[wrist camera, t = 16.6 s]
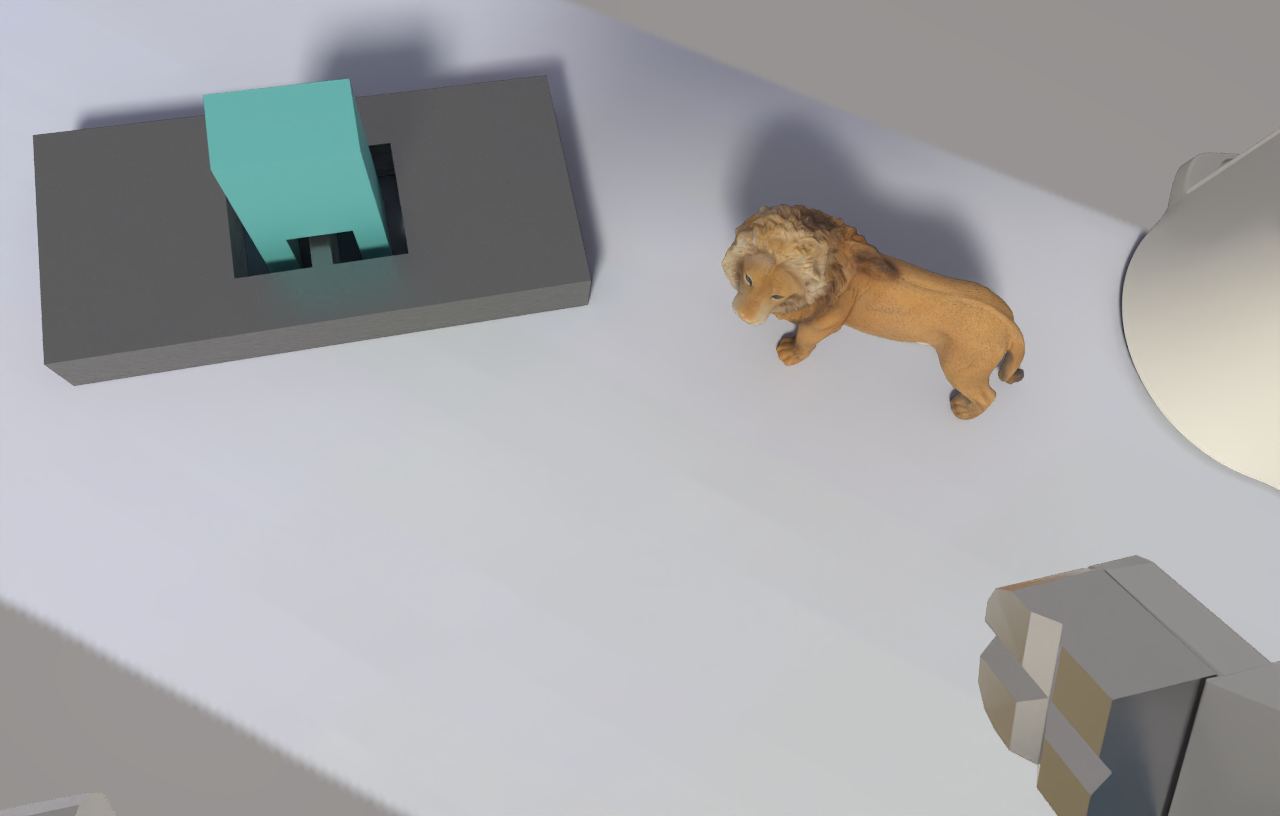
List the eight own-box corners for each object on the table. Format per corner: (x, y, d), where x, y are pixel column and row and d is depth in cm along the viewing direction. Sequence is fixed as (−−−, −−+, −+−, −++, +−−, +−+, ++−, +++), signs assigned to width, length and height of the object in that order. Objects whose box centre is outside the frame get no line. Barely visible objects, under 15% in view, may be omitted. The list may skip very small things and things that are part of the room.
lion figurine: (689, 375, 42) (729, 289, 33) (704, 265, 43) (746, 157, 35) (1015, 432, 42) (1137, 362, 34) (1018, 322, 44) (1135, 229, 36)
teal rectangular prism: (383, 198, 42) (349, 78, 34) (393, 259, 42) (360, 151, 34) (266, 214, 42) (202, 94, 34) (273, 276, 41) (210, 169, 33)
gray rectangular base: (545, 108, 45) (546, 75, 42) (587, 304, 42) (591, 280, 40) (61, 168, 41) (32, 135, 39) (74, 385, 39) (44, 364, 36)
